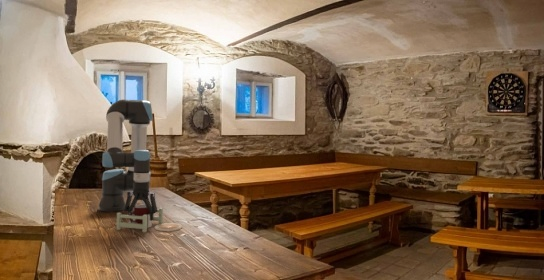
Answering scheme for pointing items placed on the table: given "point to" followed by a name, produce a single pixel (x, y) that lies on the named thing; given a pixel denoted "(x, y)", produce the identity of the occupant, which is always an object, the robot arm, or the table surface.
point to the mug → (140, 213)
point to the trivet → (168, 227)
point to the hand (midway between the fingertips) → (140, 226)
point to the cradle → (144, 217)
